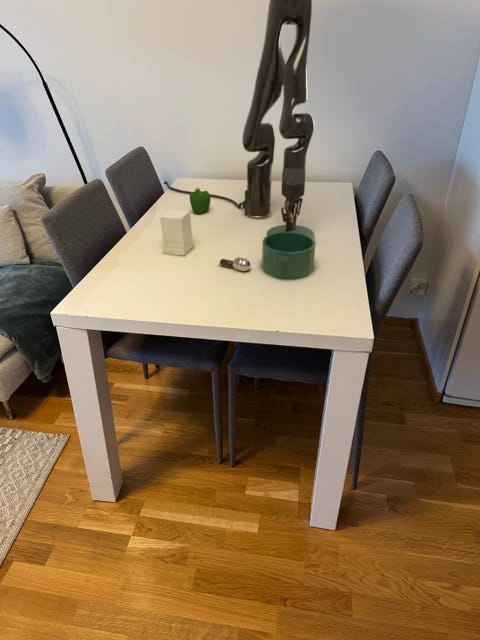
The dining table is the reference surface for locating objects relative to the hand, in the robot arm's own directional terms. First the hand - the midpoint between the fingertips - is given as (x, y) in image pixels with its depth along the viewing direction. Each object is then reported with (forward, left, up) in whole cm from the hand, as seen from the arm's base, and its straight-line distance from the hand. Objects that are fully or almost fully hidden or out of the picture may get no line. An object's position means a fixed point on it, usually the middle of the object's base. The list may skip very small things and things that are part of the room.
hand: (290, 230), depth 155 cm
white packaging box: (-29, -26, -3) cm, 39 cm away
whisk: (-6, -29, -3) cm, 30 cm away
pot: (+8, -21, -3) cm, 23 cm away
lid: (0, 0, -2) cm, 2 cm away
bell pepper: (-42, +8, -3) cm, 43 cm away
